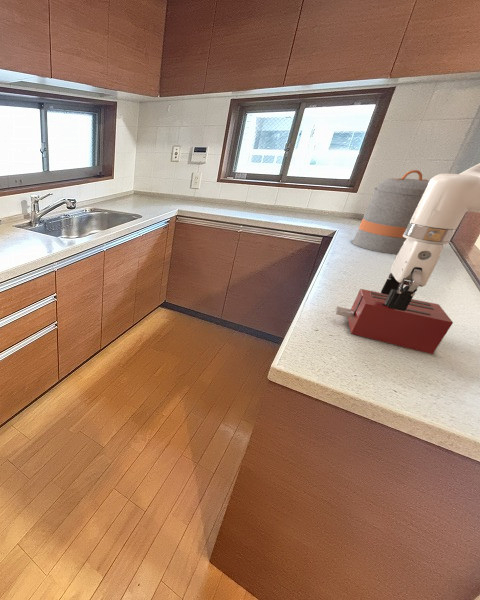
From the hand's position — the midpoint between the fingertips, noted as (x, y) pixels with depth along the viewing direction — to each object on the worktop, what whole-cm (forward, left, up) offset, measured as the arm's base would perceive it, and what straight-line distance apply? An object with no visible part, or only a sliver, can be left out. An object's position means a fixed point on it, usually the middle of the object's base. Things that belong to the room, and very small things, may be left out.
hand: (391, 301), depth 80 cm
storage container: (-15, -107, -11) cm, 108 cm away
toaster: (-3, -4, -10) cm, 11 cm away
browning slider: (0, 0, -1) cm, 1 cm away
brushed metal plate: (+7, -4, -8) cm, 11 cm away
